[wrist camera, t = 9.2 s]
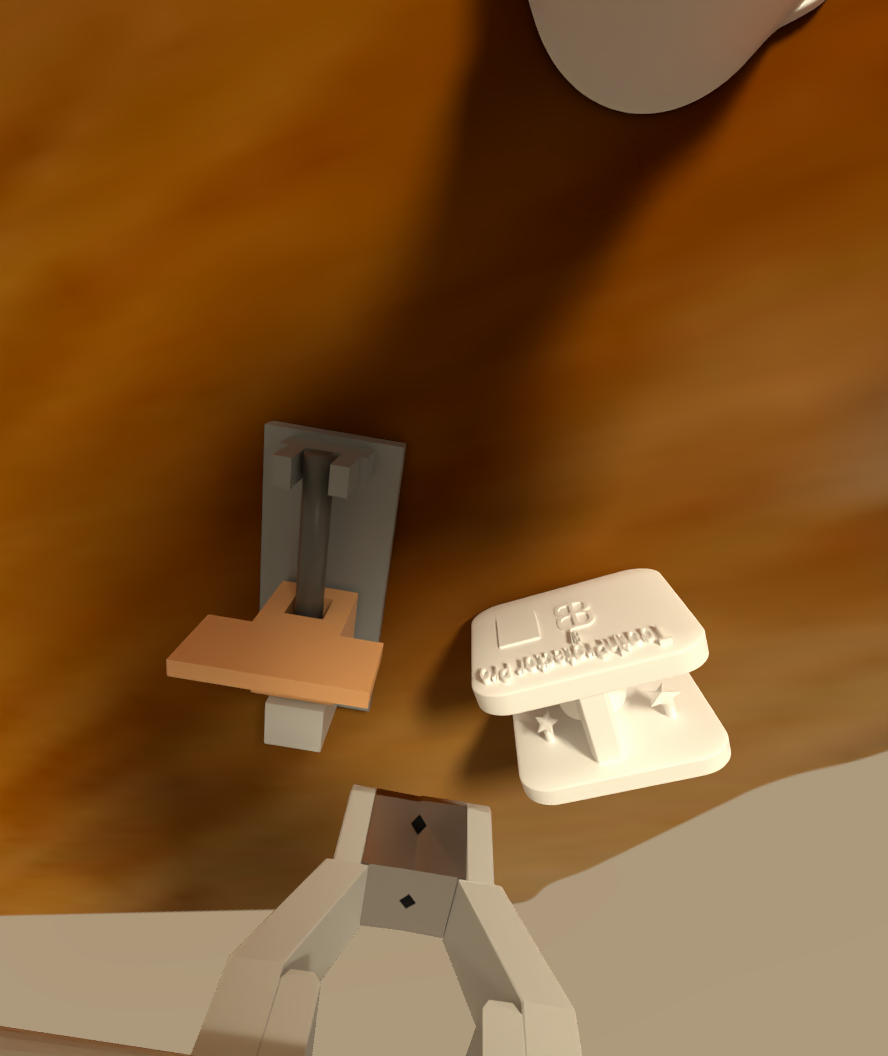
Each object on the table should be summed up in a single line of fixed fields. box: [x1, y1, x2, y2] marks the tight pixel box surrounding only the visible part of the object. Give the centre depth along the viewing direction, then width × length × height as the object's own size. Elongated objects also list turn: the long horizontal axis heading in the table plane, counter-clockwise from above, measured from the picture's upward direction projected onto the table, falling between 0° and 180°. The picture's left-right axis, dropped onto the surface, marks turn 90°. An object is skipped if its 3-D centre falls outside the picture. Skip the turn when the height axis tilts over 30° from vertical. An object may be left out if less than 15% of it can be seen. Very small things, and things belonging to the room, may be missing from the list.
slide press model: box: [260, 421, 406, 752], centre depth 38 cm, size 24×10×7 cm, turn 171°
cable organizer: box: [471, 569, 731, 805], centre depth 37 cm, size 15×11×12 cm
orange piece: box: [166, 581, 384, 709], centre depth 35 cm, size 6×12×11 cm, turn 81°
